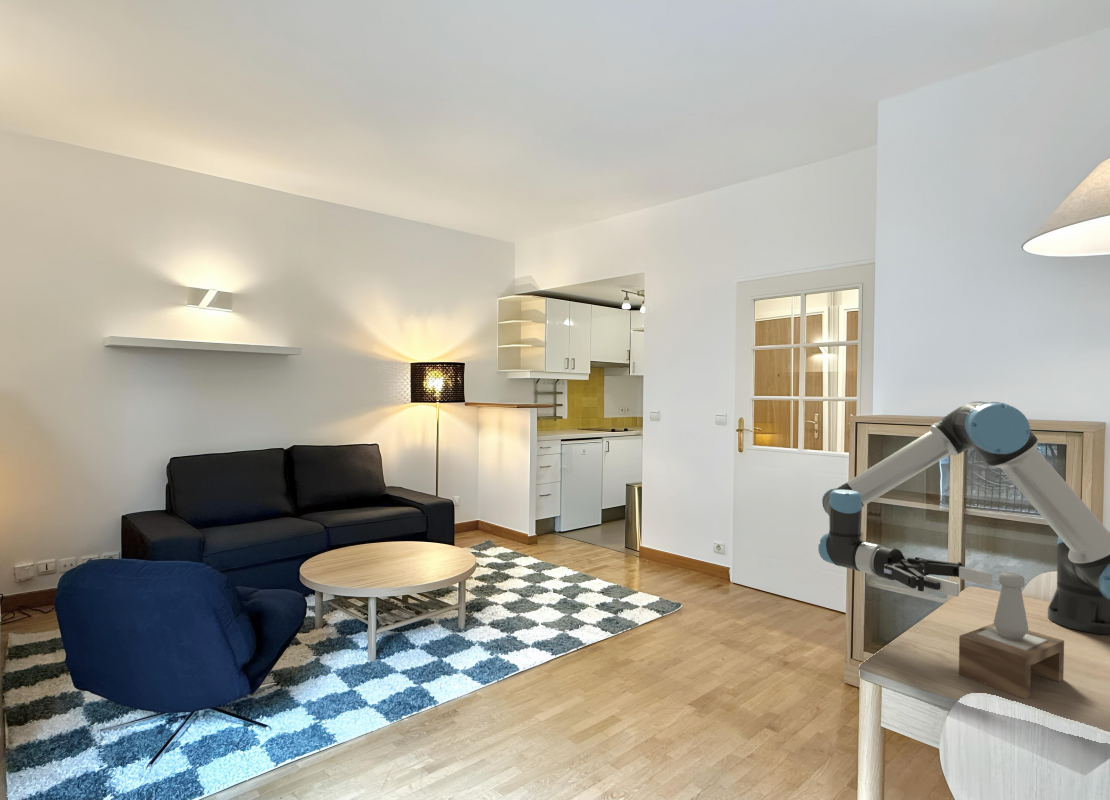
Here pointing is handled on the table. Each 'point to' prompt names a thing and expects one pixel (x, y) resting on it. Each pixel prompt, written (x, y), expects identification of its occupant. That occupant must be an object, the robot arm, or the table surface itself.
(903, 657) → the table surface
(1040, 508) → the robot arm
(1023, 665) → the walnut shelf
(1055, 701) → the table surface
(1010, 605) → the salt shaker
